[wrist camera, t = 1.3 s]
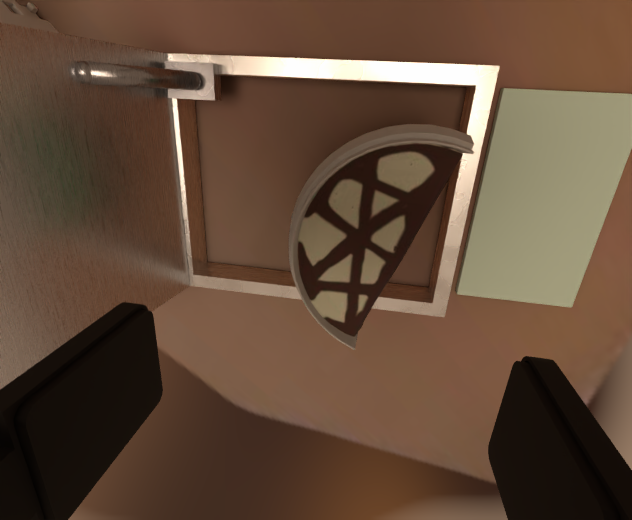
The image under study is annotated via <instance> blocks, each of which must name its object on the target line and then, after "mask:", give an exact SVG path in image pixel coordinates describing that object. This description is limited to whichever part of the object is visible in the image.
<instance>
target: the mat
mask: <svg viewBox="0 0 632 520" xmlns="http://www.w3.org/2000/svg"><path fill="white" fill-rule="evenodd" d="M631 148H632V94H620V93H598V92H576V91H554V90H532V89H510V88H502V89H501V90H500V95H499V99H498V104H497V108H496V112H495V117H494V121H493V126H492V130H491V135H490V139H489V143H488V148H487V152H486V157H485V161H484V166H483V170H482V175H481V179H480V183H479V188H478V192H477V197H476V201H475V206H474V210H473V215H472V219H471V223H470V228H469V232H468V237H467V241H466V246H465V250H464V255H463V259H462V263H461V268H460V272H459V277H458V281H457V286H456V290H455V291H456V293H457V294H460V295H468V296H477V297H486V298H494V299H503V300H512V301H520V302H529V303H538V304H546V305H555V306H563V307H572V305H573V303H574V300H575V297H576V295H577V292H578V290H579V287H580V284H581V282H582V279H583V276H584V274H585V271H586V268H587V266H588V263H589V260H590V258H591V255H592V252H593V250H594V247H595V244H596V242H597V239H598V236H599V234H600V231H601V228H602V226H603V223H604V220H605V218H606V215H607V212H608V210H609V207H610V204H611V202H612V199H613V196H614V194H615V191H616V188H617V186H618V183H619V180H620V178H621V175H622V172H623V170H624V167H625V164H626V162H627V159H628V156H629V154H630V151H631Z"/></svg>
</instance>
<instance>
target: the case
mask: <svg viewBox="0 0 632 520" xmlns="http://www.w3.org/2000/svg"><path fill="white" fill-rule="evenodd" d="M498 71H499V66H491V65H465V64H438V63H412V62H385V61H359V60H332V59H306V58H280V57H253V56H227V55H200V54H174V53H163V52H158V51H152V50H147V49H141V48H136V47H131V46H125V45H120V44H114V43H109V42H104V41H98V40H93V39H87V38H82V37H77V36H71V35H66V34H60V33H55V32H50V31H44V30H39V29H33V28H28V27H23V26H17V25H12V24H6V23H1V22H0V389H2V388H3V387H4V386H6V385H7V384H9V383H10V382H11V381H13V380H14V379H16V378H17V377H18V376H20V375H21V374H23V373H24V372H25V371H27V370H28V369H30V368H31V367H32V366H34V365H35V364H36V363H38V362H39V361H41V360H42V359H43V358H45V357H46V356H48V355H49V354H50V353H52V352H53V351H55V350H56V349H57V348H59V347H60V346H62V345H63V344H64V343H66V342H67V341H68V340H70V339H71V338H73V337H74V336H75V335H77V334H78V333H80V332H81V331H82V330H84V329H85V328H87V327H88V326H89V325H91V324H92V323H94V322H95V321H96V320H98V319H99V318H100V317H102V316H103V315H105V314H106V313H107V312H109V311H110V310H112V309H113V308H114V307H116V306H117V305H119V304H120V303H122V302H129V303H136V304H143V305H145V306H147V308H148V311H151V312H152V311H153V310H155V309H156V308H158V307H159V306H161V305H162V304H164V303H165V302H167V301H168V300H170V299H171V298H173V297H174V296H176V295H177V294H179V293H180V292H182V291H183V290H185V289H186V288H188V287H189V286H197V287H205V288H213V289H221V290H229V291H237V292H245V293H253V294H261V295H269V296H277V297H285V298H293V299H301V300H302V298H301V297H300V294H299V293H298V291H297V288H296V285H295V282H294V280H293V277H292V273H291V272H290V271H281V270H272V269H264V268H255V267H246V266H237V265H229V264H220V263H211V262H207V252H206V239H205V226H204V213H203V200H202V187H201V174H200V161H199V148H198V135H197V122H196V108H195V99H196V100H215V101H222V99H221V79H220V76H235V77H257V78H279V79H301V80H323V81H345V82H367V83H389V84H411V85H433V86H455V87H467V89H466V94H465V100H464V105H463V110H462V115H461V121H460V126H459V131H460V132H462V133H465V134H468V135H471V137H472V140H473V142H474V146H473V148H472V149H471V150H472V151H474V154H465V153H463V155H462V157H461V159H460V160H459V162H458V164H457V166H456V167H455V169H454V171H453V172H452V174H451V176H450V178H449V183H448V188H447V194H446V199H445V204H444V209H443V215H442V220H441V225H440V230H439V236H438V241H437V246H436V251H435V256H434V262H433V267H432V272H431V277H430V283H429V287H421V286H412V285H403V284H395V283H387V284H386V285H385V287H384V289H383V290H382V292H381V294H380V295H379V297H378V298H377V300H376V302H375V303H374V305H373V307H372V308H374V309H382V310H390V311H398V312H406V313H414V314H422V315H430V316H438V317H445V313H446V308H447V304H448V299H449V295H450V290H451V286H452V281H453V276H454V272H455V267H456V263H457V258H458V254H459V249H460V244H461V240H462V235H463V231H464V226H465V222H466V217H467V212H468V208H469V203H470V199H471V194H472V190H473V185H474V180H475V176H476V171H477V167H478V162H479V158H480V153H481V148H482V144H483V139H484V135H485V130H486V126H487V121H488V117H489V112H490V107H491V103H492V98H493V94H494V89H495V85H496V80H497V75H498Z"/></svg>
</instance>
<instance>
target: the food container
mask: <svg viewBox="0 0 632 520" xmlns="http://www.w3.org/2000/svg"><path fill="white" fill-rule="evenodd" d="M473 146H474V142H473V140H472V137H471V135H468V134H465V133H462V132H460V131H457V130H454V129H451V128H446V127H441V126H435V125H430V124H404V125H397V126H390V127H385V128H381V129H378V130H375V131H372V132H368V133H365V134H363V135H361V136H359V137H357V138H355V139H353V140H351V141H349V142H347V143H346V144H344V145H343V146H341V147H340V148H339V149H337V150H336V151H334V152H333V153H331V154H330V155H329V156H328V157H327V158H326V159H325V160H324V161H323V162H322V163H321V164H320V165H319V166H318V167H317V168H316V169H315V171H314V172H313V173H312V175H311V176H310V177H309V179H308V180H307V181H306V183H305V185H304V187H303V189H302V190H301V192H300V194H299V196H298V198H297V201H296V204H295V207H294V210H293V213H292V217H291V224H290V231H289V262H290V267H291V273H292V277H293V280H294V282H295V285H296V288H297V291H298V293H299V294H300V297H301V298H302V300H303V302H304V304H305V306H306V308H307V309H308V311H309V312H310V313H311V315H312V316H313V317H314V319H315V320H316V321H317V322H318V323H319V324H320V325H321V326H322V327H323V328H324V329H325V330H326V331H327V332H328V333H329V334H330V335H332V336H333V337H334V338H336V339H337V340H338V341H340V342H341V343H343V344H345V345H346V346H348V347H350V348H352V349H354V350H355V346H356V340H357V334H358V331H359V330H360V328H361V327H362V325H363V322H364V320H365V318H366V317H367V315H368V313H369V311H370V310H371V308H372V307H373V305H374V303H375V302H376V300H377V298H378V297H379V295H380V294H381V292H382V290H383V289H384V287H385V285H386V284H387V282H388V281H389V279H390V278H391V276H392V275H393V273H394V271H395V270H396V268H397V267H398V265H399V264H400V262H401V261H402V259H403V257H404V256H405V254H406V252H407V250H408V248H409V247H410V245H411V243H412V241H413V239H414V237H415V236H416V234H417V232H418V230H419V229H420V227H421V225H422V223H423V222H424V220H425V218H426V217H427V215H428V213H429V211H430V210H431V208H432V206H433V205H434V203H435V201H436V199H437V198H438V196H439V194H440V193H441V191H442V189H443V188H444V186H445V184H446V183H447V181H448V179H449V178H450V176H451V174H452V172H453V171H454V169H455V167H456V166H457V164H458V162H459V160H460V159H461V157H462V155H463V153H465V154H474V151H472V150H471V149H472V148H473Z"/></svg>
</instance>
